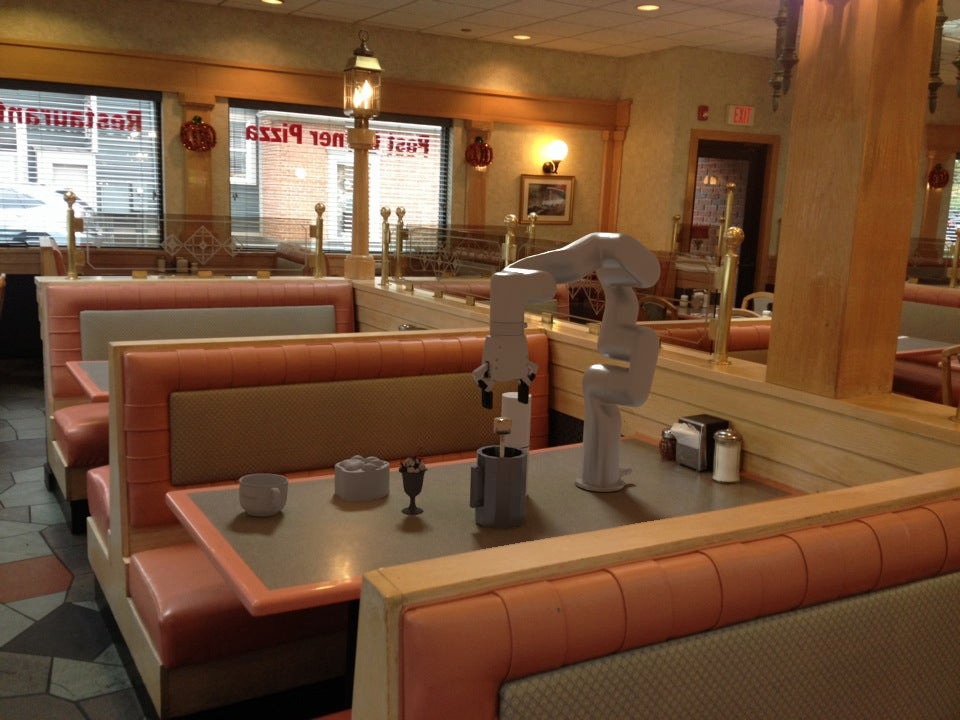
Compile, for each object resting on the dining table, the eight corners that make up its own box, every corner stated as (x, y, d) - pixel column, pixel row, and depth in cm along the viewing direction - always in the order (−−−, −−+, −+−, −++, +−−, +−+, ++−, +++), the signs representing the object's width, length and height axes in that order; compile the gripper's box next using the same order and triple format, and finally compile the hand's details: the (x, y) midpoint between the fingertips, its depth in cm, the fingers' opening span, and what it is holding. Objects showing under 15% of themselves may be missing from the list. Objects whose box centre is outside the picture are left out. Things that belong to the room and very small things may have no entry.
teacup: (236, 507, 200) (235, 473, 199) (283, 502, 204) (283, 469, 203) (245, 527, 188) (245, 492, 186) (295, 522, 192) (295, 487, 191)
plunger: (503, 503, 202) (507, 414, 198) (523, 513, 196) (527, 421, 192) (476, 509, 197) (479, 417, 194) (495, 519, 191) (499, 424, 188)
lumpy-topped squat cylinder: (330, 491, 214) (330, 456, 213) (379, 484, 221) (379, 451, 219) (346, 503, 205) (347, 468, 204) (397, 496, 212) (397, 461, 210)
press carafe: (505, 509, 204) (507, 443, 202) (533, 523, 195) (536, 454, 193) (457, 518, 197) (459, 450, 194) (484, 534, 188) (487, 462, 185)
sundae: (431, 508, 203) (432, 446, 201) (420, 517, 197) (421, 453, 195) (405, 504, 205) (406, 443, 203) (393, 513, 199) (394, 450, 197)
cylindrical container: (525, 499, 212) (529, 399, 208) (496, 496, 213) (499, 396, 209) (529, 490, 219) (533, 393, 215) (501, 488, 220) (504, 391, 216)
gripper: (528, 324, 198) (526, 397, 201) (464, 329, 188) (463, 406, 191) (548, 328, 191) (546, 404, 195) (483, 334, 182) (482, 414, 185)
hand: (505, 405), depth 193 cm, fingers open, 9 cm apart
